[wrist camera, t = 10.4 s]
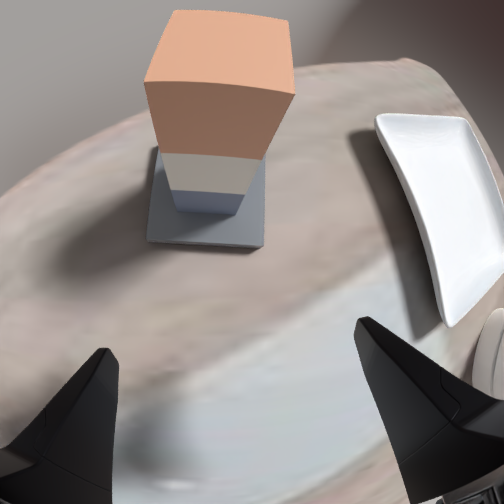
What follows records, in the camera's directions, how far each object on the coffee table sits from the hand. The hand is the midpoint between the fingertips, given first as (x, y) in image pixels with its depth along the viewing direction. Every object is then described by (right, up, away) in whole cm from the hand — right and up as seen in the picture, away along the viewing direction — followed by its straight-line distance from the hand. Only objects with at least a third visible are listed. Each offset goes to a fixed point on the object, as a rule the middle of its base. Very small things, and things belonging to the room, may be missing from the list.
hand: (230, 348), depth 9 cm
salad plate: (+24, +9, +17) cm, 31 cm away
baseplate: (-3, +8, +11) cm, 14 cm away
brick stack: (-2, +8, +10) cm, 13 cm away
